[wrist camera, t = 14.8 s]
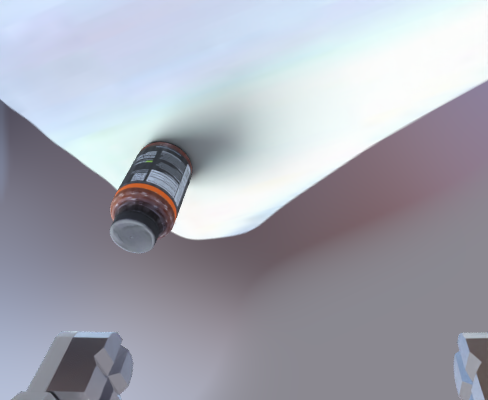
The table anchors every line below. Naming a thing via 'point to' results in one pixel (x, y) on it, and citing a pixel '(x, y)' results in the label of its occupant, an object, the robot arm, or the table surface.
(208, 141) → the table surface
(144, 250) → the supplement bottle
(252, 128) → the table surface
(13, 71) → the table surface
